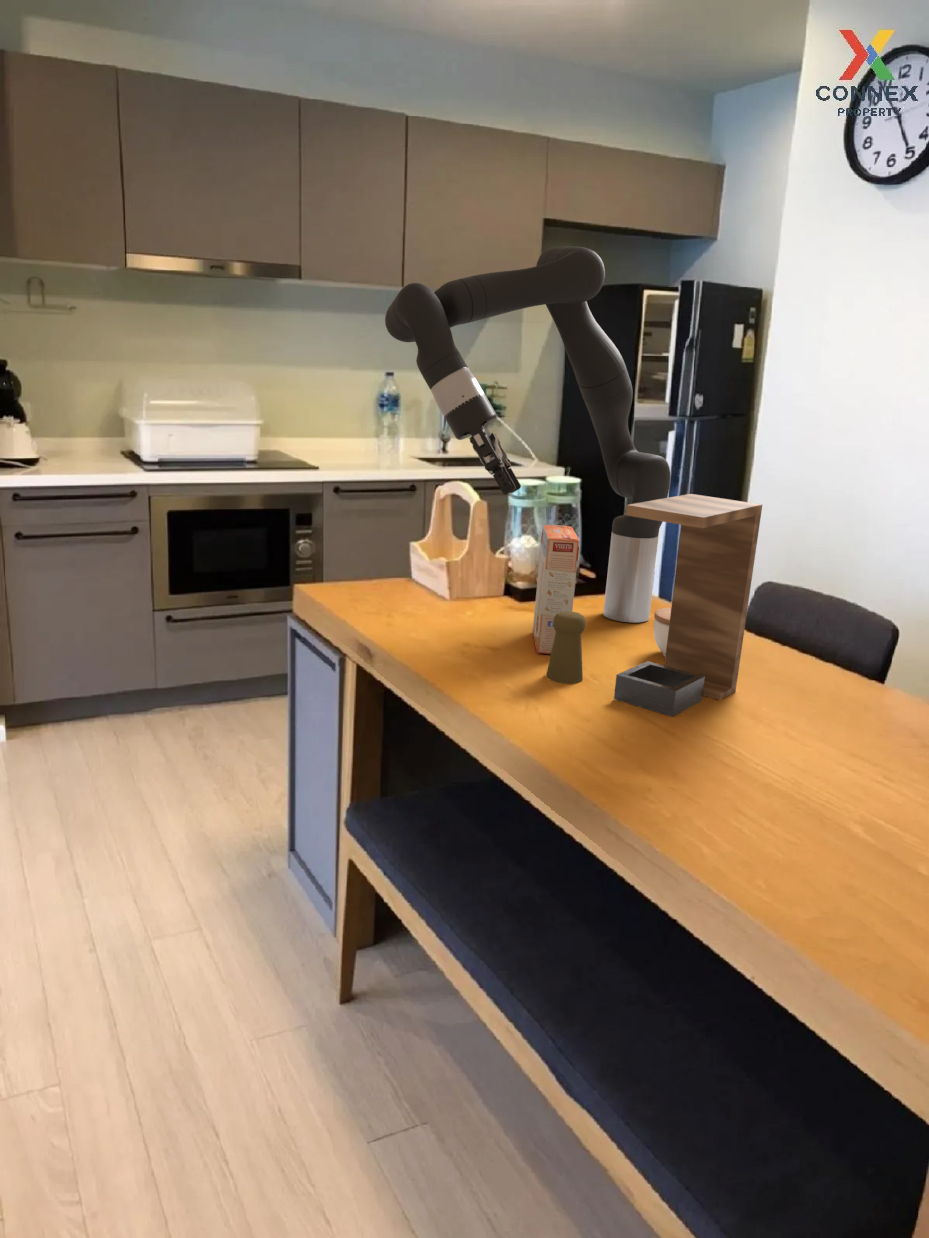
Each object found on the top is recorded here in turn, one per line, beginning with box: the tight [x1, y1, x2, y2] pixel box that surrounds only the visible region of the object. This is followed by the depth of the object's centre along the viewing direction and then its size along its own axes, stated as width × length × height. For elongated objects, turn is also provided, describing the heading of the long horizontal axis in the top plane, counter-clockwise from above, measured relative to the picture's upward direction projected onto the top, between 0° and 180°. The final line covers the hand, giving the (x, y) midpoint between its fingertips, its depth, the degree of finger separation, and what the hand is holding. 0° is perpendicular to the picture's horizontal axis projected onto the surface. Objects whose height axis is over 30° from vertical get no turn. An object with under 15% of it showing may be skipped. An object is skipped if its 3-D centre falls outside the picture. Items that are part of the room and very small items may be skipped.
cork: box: [545, 610, 587, 685], centre depth 158 cm, size 6×6×11 cm
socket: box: [613, 660, 705, 717], centre depth 151 cm, size 10×10×4 cm
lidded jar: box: [653, 606, 672, 657], centre depth 173 cm, size 11×11×9 cm
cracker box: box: [532, 524, 581, 655], centre depth 174 cm, size 14×6×21 cm, turn 179°
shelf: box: [625, 493, 763, 701], centre depth 149 cm, size 21×12×30 cm, turn 142°
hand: (513, 491), depth 157 cm, fingers open, 8 cm apart
